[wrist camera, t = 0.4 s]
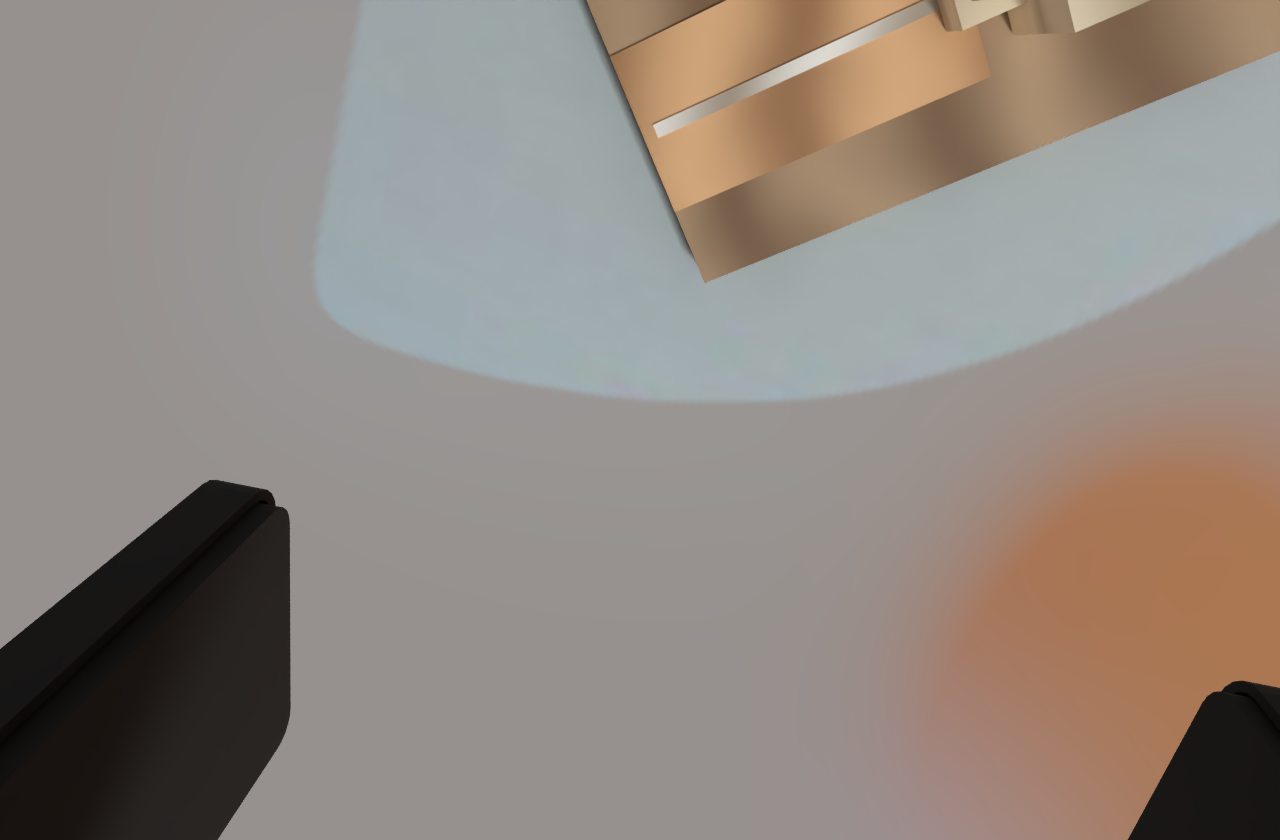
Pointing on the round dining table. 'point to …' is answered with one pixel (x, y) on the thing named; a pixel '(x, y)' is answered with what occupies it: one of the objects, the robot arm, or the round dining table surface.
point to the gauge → (1033, 13)
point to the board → (879, 100)
